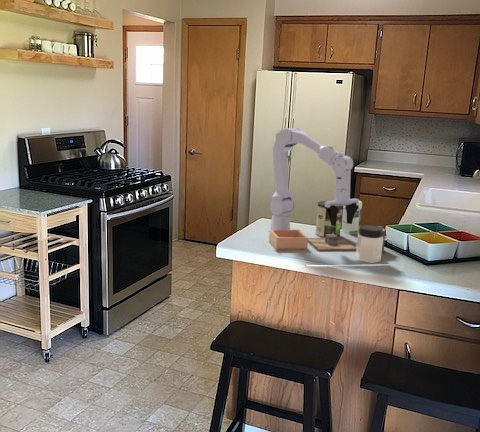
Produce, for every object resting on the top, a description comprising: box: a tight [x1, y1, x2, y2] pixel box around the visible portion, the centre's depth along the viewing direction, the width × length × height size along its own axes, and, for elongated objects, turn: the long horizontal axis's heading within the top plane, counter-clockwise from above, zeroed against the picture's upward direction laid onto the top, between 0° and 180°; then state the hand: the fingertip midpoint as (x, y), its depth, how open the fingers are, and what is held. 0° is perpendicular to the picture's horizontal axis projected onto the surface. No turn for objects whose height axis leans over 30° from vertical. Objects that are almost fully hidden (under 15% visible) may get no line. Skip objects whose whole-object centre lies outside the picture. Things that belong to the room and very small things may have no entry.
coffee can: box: [315, 200, 343, 238], centre depth 210 cm, size 10×10×14 cm
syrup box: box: [340, 199, 363, 235], centre depth 217 cm, size 6×6×14 cm
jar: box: [355, 224, 384, 264], centre depth 180 cm, size 9×8×12 cm
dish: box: [268, 229, 309, 252], centre depth 194 cm, size 12×12×5 cm
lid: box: [308, 234, 357, 252], centre depth 196 cm, size 15×15×4 cm
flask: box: [377, 225, 387, 253], centre depth 189 cm, size 9×3×11 cm, turn 138°
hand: (341, 224), depth 191 cm, fingers open, 7 cm apart
